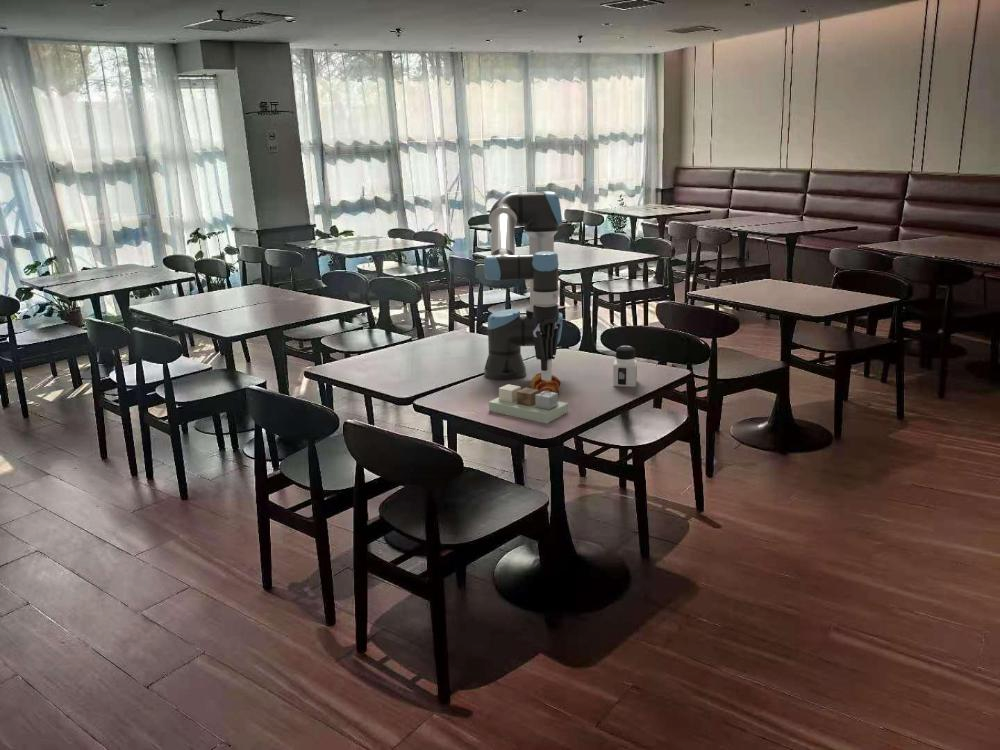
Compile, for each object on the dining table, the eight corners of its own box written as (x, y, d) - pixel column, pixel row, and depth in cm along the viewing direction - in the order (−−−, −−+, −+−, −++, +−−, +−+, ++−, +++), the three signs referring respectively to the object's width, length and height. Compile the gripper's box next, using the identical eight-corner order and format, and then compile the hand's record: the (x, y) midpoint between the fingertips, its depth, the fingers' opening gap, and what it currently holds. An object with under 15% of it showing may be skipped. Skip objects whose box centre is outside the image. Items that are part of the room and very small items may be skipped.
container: (635, 387, 277) (636, 350, 273) (613, 386, 278) (613, 349, 274) (636, 380, 284) (637, 344, 280) (614, 379, 285) (615, 344, 282)
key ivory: (499, 403, 259) (498, 388, 257) (508, 398, 262) (507, 384, 261) (511, 405, 256) (511, 390, 254) (520, 401, 260) (520, 386, 258)
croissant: (534, 391, 286) (523, 372, 284) (559, 377, 285) (548, 358, 283) (540, 410, 266) (528, 390, 264) (567, 395, 265) (555, 375, 263)
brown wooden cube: (517, 406, 254) (516, 391, 253) (526, 402, 258) (525, 387, 257) (530, 409, 252) (530, 394, 250) (539, 404, 255) (538, 389, 254)
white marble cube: (535, 410, 250) (535, 394, 249) (544, 405, 254) (544, 390, 253) (549, 413, 248) (549, 397, 246) (557, 408, 251) (557, 393, 250)
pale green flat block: (489, 410, 257) (488, 401, 256) (510, 400, 266) (510, 391, 266) (547, 423, 245) (547, 414, 244) (567, 412, 254) (567, 403, 253)
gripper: (544, 309, 234) (545, 387, 241) (567, 301, 244) (568, 376, 251) (522, 307, 238) (524, 383, 245) (547, 299, 248) (547, 372, 255)
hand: (546, 379), depth 248 cm, fingers closed
